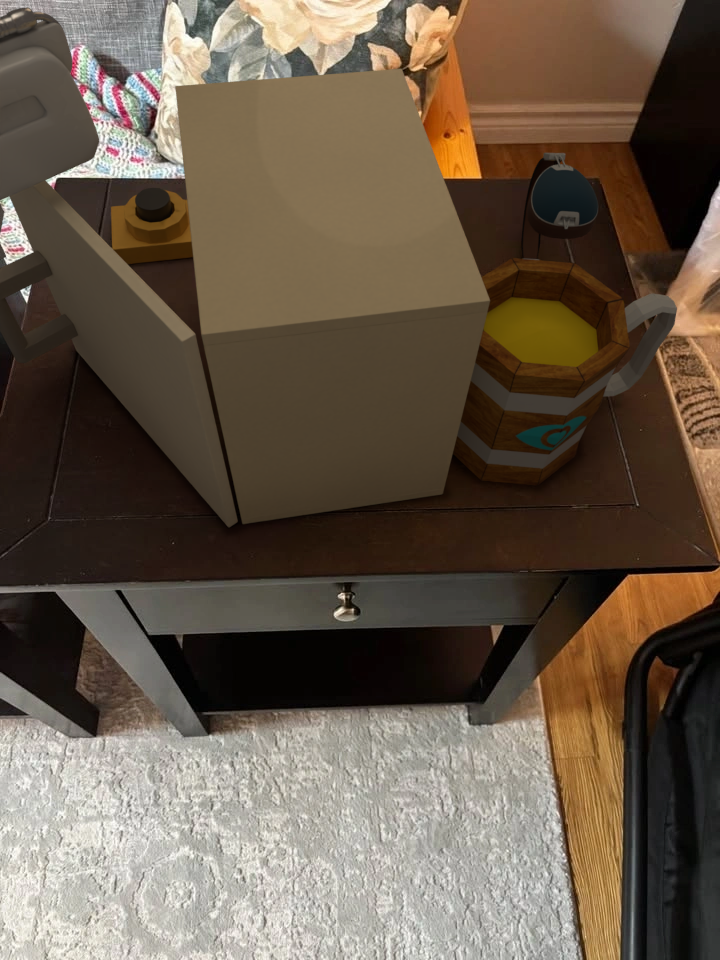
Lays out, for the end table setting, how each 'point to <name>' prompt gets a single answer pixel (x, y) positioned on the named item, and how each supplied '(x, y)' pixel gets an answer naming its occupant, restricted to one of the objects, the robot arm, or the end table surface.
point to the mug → (548, 366)
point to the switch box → (151, 233)
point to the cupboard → (328, 289)
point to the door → (117, 337)
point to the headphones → (556, 204)
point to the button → (153, 205)
